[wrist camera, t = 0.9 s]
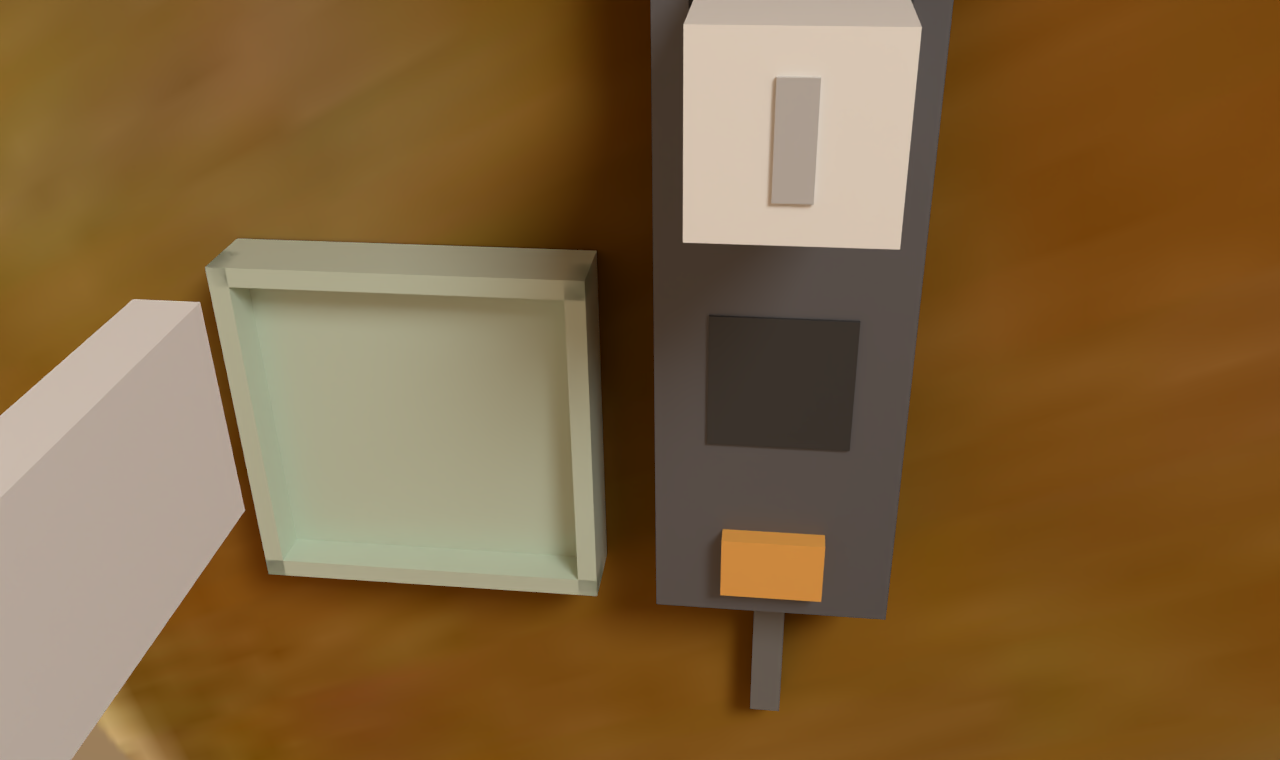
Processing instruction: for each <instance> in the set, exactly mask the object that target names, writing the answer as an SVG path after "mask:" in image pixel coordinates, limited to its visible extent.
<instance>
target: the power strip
mask: <svg viewBox="0 0 1280 760" xmlns="http://www.w3.org/2000/svg"><path fill="white" fill-rule="evenodd" d="M911 1H912V4H913V6H914V9H915V11H916V14H917V16H918V19H919V21H920V24H921V26H922V32H921V42H920V52H919V62H918V72H917V82H916V92H915V103H914V113H913V123H912V133H911V143H910V153H909V163H908V174H907V184H906V194H905V204H904V214H903V224H902V234H901V245H900V250H895V249H864V248H833V247H803V246H772V245H741V244H710V243H683V24H684V22H685V19H686V17H687V15H688V12H689V10H690V7H691V5H692V2H693V0H651V98H652V201H653V304H654V407H655V511H656V604H662V605H677V606H692V607H707V608H722V609H736V610H751V611H754V622H753V647H752V671H751V695H750V709H760V710H773V711H779V701H780V684H781V666H782V649H783V631H784V614H785V613H796V614H811V615H826V616H840V617H855V618H870V619H886V610H887V601H888V592H889V583H890V574H891V565H892V555H893V546H894V537H895V528H896V519H897V510H898V501H899V492H900V483H901V474H902V465H903V455H904V446H905V437H906V428H907V419H908V410H909V401H910V392H911V383H912V374H913V365H914V355H915V346H916V337H917V328H918V319H919V310H920V301H921V292H922V283H923V274H924V265H925V255H926V246H927V237H928V228H929V219H930V210H931V201H932V192H933V183H934V174H935V165H936V155H937V146H938V137H939V128H940V119H941V110H942V101H943V92H944V83H945V74H946V65H947V55H948V46H949V37H950V28H951V19H952V10H953V1H954V0H911Z"/></svg>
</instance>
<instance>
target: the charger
mask: <svg viewBox="0 0 1280 760" xmlns="http://www.w3.org/2000/svg"><path fill="white" fill-rule="evenodd" d="M921 32H922V26H921V24H920V21H919V19H918V16H917V14H916V11H915V9H914V6H913V4H912V1H911V0H693V2H692V5H691V7H690V10H689V12H688V15H687V17H686V19H685V22H684V24H683V243H710V244H741V245H772V246H803V247H833V248H864V249H895V250H900V245H901V234H902V224H903V214H904V204H905V194H906V184H907V174H908V163H909V153H910V143H911V133H912V123H913V113H914V103H915V92H916V82H917V72H918V62H919V52H920V42H921Z"/></svg>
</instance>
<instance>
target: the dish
mask: <svg viewBox="0 0 1280 760" xmlns="http://www.w3.org/2000/svg"><path fill="white" fill-rule="evenodd" d="M205 270H206V275H207V280H208V285H209V289H210V294H211V299H212V304H213V309H214V313H215V318H216V323H217V328H218V333H219V338H220V342H221V347H222V352H223V357H224V362H225V366H226V371H227V376H228V381H229V386H230V391H231V395H232V400H233V405H234V410H235V415H236V419H237V424H238V429H239V434H240V439H241V444H242V448H243V453H244V458H245V463H246V468H247V472H248V477H249V482H250V487H251V492H252V496H253V501H254V506H255V511H256V516H257V521H258V525H259V530H260V535H261V540H262V545H263V549H264V554H265V559H266V564H267V569H268V574H274V575H289V576H304V577H319V578H334V579H349V580H364V581H379V582H394V583H409V584H424V585H438V586H453V587H468V588H483V589H498V590H513V591H528V592H543V593H558V594H573V595H588V596H597V595H598V591H599V586H600V582H601V578H602V574H603V570H604V565H605V561H606V557H607V536H606V507H605V478H604V449H603V420H602V390H601V361H600V332H599V303H598V274H597V251H594V250H564V249H534V248H504V247H474V246H444V245H414V244H385V243H355V242H325V241H295V240H265V239H236V240H235V241H234V242H233V243H232V244H230V245H229V246H228V247H227V248H226V249H225V250H224V251H223V252H221V253H220V254H219V255H218V256H217V257H216V258H215V259H214V260H213V261H211V262H210V263H209V264H208V265H207V266H206V267H205Z"/></svg>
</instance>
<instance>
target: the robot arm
mask: <svg viewBox="0 0 1280 760" xmlns="http://www.w3.org/2000/svg"><path fill="white" fill-rule="evenodd" d="M244 511H245V508H244V503H243V499H242V494H241V489H240V485H239V480H238V476H237V471H236V466H235V462H234V457H233V452H232V448H231V443H230V438H229V434H228V429H227V425H226V420H225V415H224V411H223V406H222V401H221V397H220V392H219V387H218V383H217V378H216V374H215V369H214V364H213V360H212V355H211V350H210V346H209V341H208V336H207V332H206V327H205V323H204V318H203V313H202V309H201V304H200V302H185V301H162V300H139V299H133V300H132V301H130V302H129V303H128V304H127V305H126V306H125V307H124V308H123V309H121V310H120V311H119V312H118V313H117V314H116V315H115V316H113V317H112V318H111V319H110V320H109V321H108V322H107V323H105V324H104V325H103V326H102V327H101V328H100V329H99V330H97V331H96V332H95V333H94V334H93V335H92V336H91V337H89V338H88V339H87V340H86V341H85V342H84V343H83V344H81V345H80V346H79V347H78V348H77V349H76V350H75V351H73V352H72V353H71V354H70V355H69V356H68V357H67V358H66V359H64V360H63V361H62V362H61V363H60V364H59V365H58V366H56V367H55V368H54V369H53V370H52V371H51V372H50V373H48V374H47V375H46V376H45V377H44V378H43V379H42V380H40V381H39V382H38V383H37V384H36V385H35V386H34V387H32V388H31V389H30V390H29V391H28V392H27V393H26V394H24V395H23V396H22V397H21V398H20V399H19V400H18V401H17V402H15V403H14V404H13V405H12V406H11V407H10V408H9V409H7V410H6V411H5V412H4V413H3V414H2V415H1V416H0V760H71V759H72V758H73V757H74V755H75V753H76V752H77V751H78V749H79V748H80V746H81V745H82V744H83V742H84V741H85V739H86V738H87V736H88V735H89V733H90V732H91V731H92V729H93V728H94V726H95V725H96V724H97V722H98V721H99V719H100V718H101V716H102V715H103V713H104V712H105V711H106V709H107V708H108V706H109V705H110V703H111V702H112V701H113V699H114V698H115V696H116V695H117V693H118V692H119V690H120V689H121V688H122V686H123V685H124V683H125V682H126V680H127V679H128V678H129V676H130V675H131V673H132V672H133V670H134V669H135V668H136V666H137V665H138V663H139V662H140V660H141V659H142V657H143V656H144V655H145V653H146V652H147V650H148V649H149V647H150V646H151V645H152V643H153V642H154V640H155V639H156V637H157V636H158V635H159V633H160V632H161V630H162V629H163V627H164V626H165V624H166V623H167V622H168V620H169V619H170V617H171V616H172V614H173V613H174V612H175V610H176V609H177V607H178V606H179V604H180V603H181V602H182V600H183V599H184V597H185V596H186V594H187V593H188V591H189V590H190V589H191V587H192V586H193V584H194V583H195V581H196V580H197V579H198V577H199V576H200V574H201V573H202V571H203V570H204V569H205V567H206V566H207V564H208V563H209V561H210V560H211V558H212V557H213V556H214V554H215V553H216V551H217V550H218V548H219V547H220V546H221V544H222V543H223V541H224V540H225V538H226V537H227V536H228V534H229V533H230V531H231V530H232V528H233V527H234V525H235V524H236V523H237V521H238V520H239V518H240V517H241V515H242V514H243V513H244Z"/></svg>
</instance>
